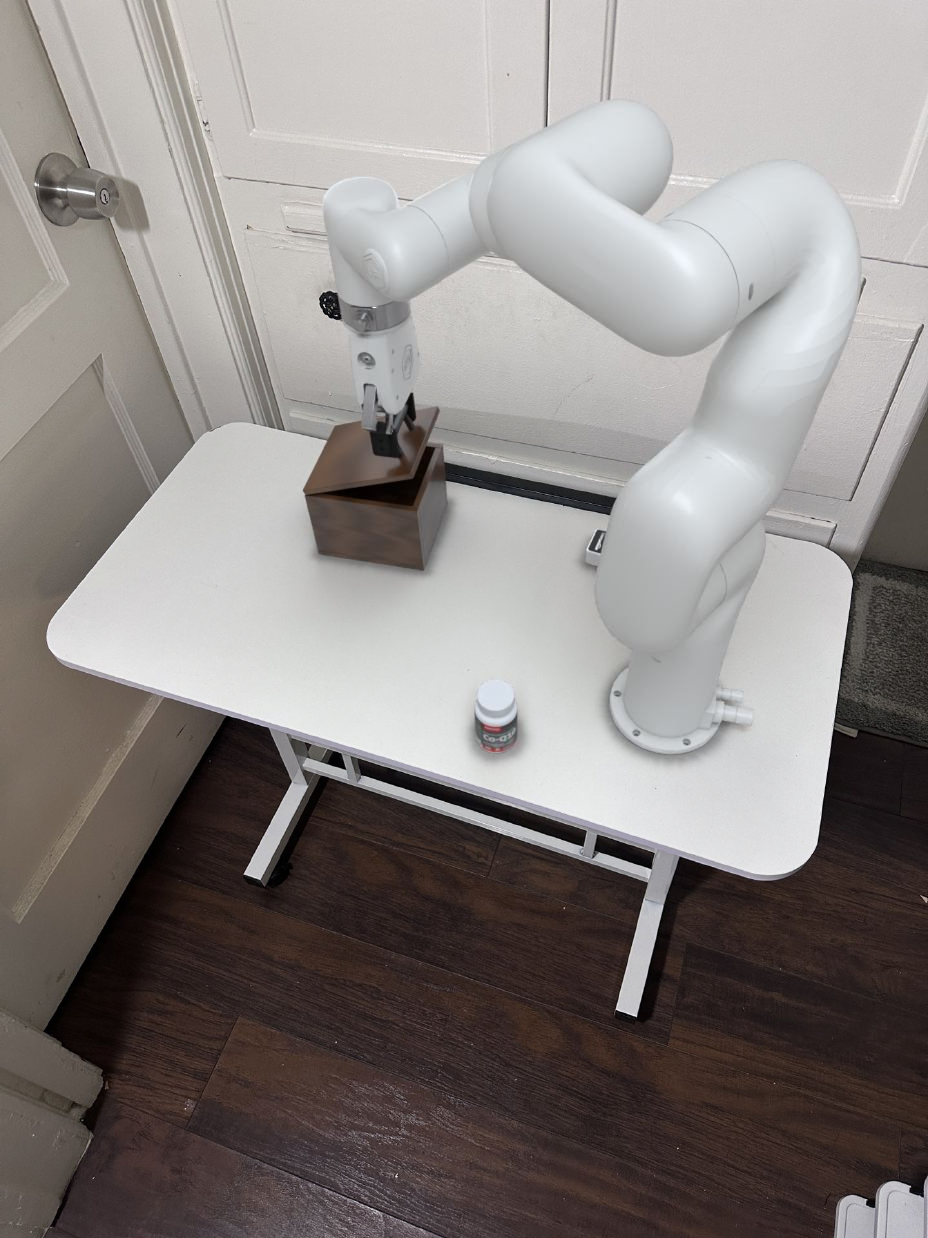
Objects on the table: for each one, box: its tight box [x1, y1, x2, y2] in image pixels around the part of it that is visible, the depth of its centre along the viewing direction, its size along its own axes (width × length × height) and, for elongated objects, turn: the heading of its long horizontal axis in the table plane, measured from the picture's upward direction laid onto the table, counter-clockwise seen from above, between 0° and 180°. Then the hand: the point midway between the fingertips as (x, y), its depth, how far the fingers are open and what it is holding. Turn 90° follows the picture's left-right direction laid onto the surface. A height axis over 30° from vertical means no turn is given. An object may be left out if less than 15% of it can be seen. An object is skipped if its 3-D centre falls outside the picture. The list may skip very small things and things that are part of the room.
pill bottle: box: [473, 679, 519, 754], centre depth 101 cm, size 5×5×8 cm
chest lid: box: [302, 401, 441, 496], centre depth 113 cm, size 15×13×5 cm
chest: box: [304, 441, 449, 571], centre depth 121 cm, size 15×13×11 cm
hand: (395, 435), depth 111 cm, fingers closed on chest lid, 6 cm apart
